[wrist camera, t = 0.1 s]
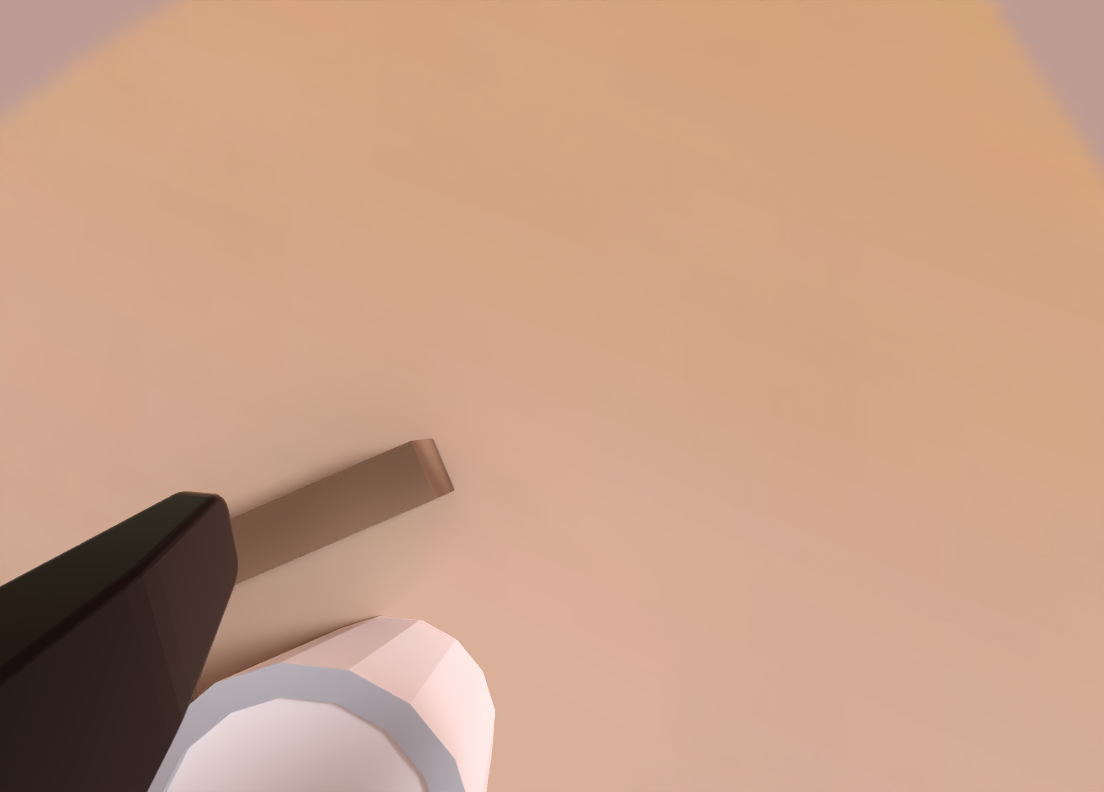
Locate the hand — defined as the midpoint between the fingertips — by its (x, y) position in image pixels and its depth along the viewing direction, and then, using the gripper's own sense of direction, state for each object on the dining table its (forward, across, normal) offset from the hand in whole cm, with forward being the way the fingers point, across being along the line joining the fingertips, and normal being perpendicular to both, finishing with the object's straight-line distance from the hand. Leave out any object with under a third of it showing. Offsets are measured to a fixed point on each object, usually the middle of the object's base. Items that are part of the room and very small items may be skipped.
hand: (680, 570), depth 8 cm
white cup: (+9, +6, +14) cm, 18 cm away
